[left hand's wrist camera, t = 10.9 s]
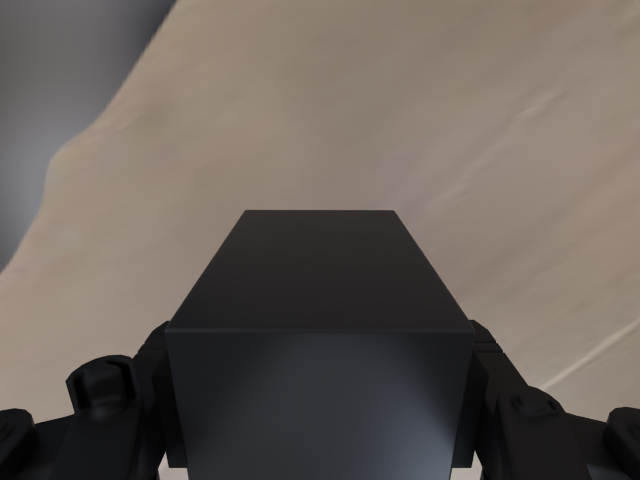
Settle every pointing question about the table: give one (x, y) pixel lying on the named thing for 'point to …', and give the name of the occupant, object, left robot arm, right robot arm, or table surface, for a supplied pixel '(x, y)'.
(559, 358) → the table surface
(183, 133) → the table surface
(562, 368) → the table surface
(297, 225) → the bar
